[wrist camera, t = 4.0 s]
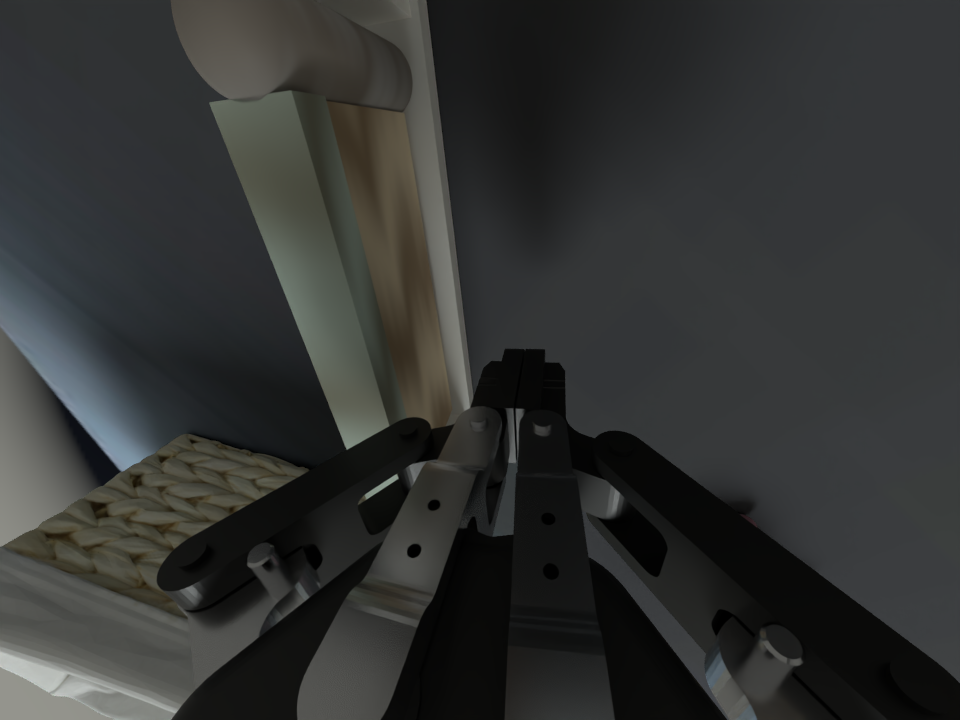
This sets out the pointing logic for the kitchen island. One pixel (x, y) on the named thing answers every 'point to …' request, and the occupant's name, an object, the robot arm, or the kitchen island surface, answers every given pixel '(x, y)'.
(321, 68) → the panel
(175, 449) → the storage basket
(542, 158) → the kitchen island surface
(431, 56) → the gate posts
